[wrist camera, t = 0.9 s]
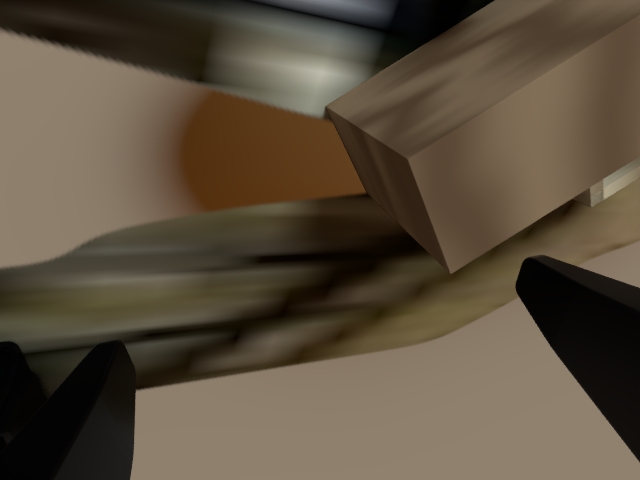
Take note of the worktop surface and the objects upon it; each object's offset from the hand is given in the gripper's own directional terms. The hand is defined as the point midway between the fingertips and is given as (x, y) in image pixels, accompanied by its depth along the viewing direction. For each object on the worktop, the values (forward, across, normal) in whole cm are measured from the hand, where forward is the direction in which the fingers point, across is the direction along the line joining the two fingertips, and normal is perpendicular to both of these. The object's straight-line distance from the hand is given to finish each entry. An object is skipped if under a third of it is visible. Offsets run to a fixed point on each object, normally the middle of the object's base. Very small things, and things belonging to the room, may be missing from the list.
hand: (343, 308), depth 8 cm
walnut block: (+15, -12, -1) cm, 19 cm away
